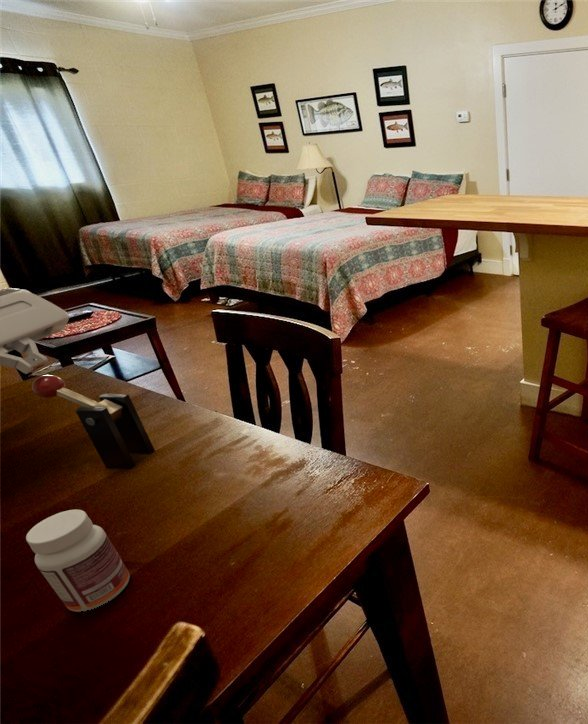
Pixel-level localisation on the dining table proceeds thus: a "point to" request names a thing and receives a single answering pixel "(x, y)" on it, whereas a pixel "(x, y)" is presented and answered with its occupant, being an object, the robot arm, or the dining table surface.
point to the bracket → (116, 432)
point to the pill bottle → (77, 560)
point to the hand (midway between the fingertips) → (38, 367)
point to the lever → (71, 394)
